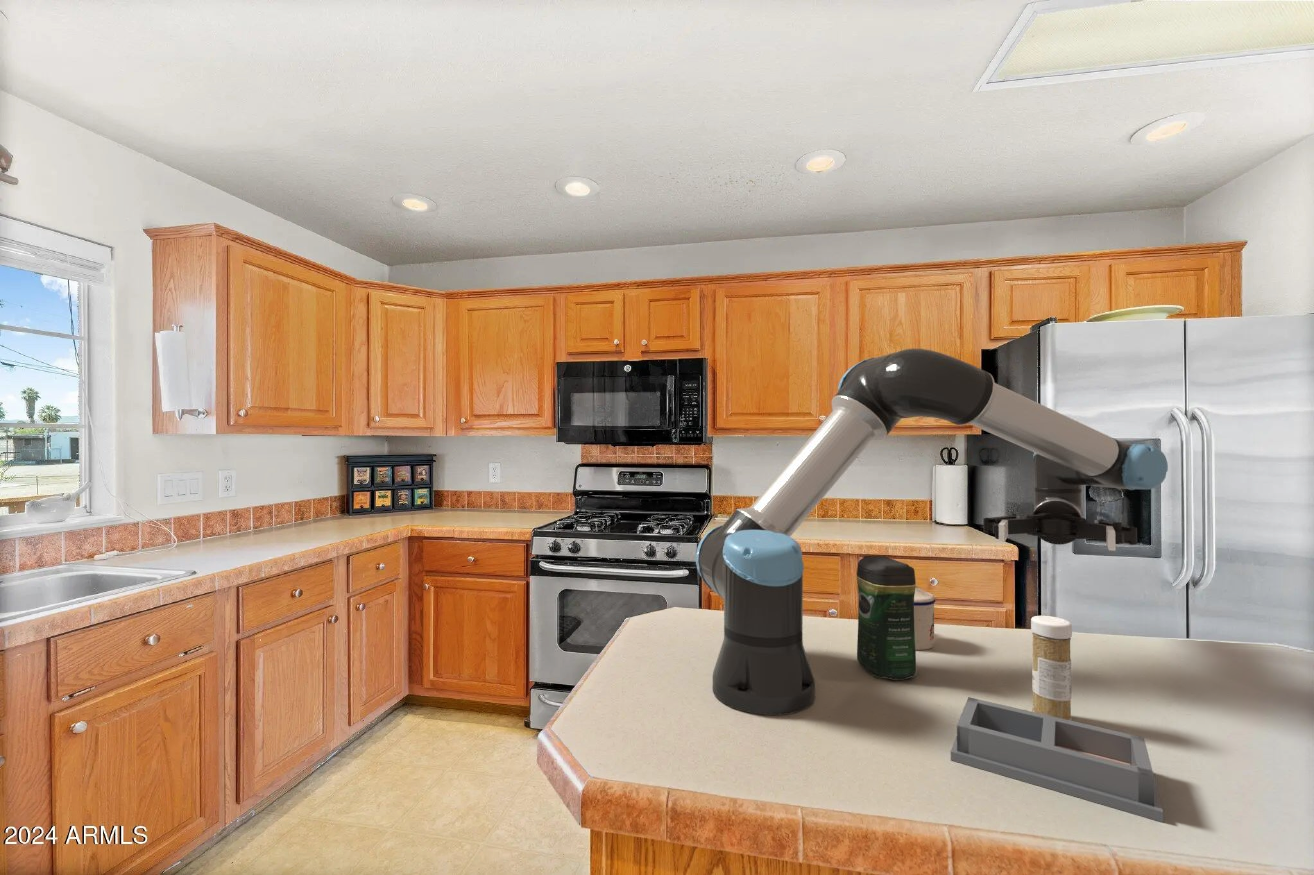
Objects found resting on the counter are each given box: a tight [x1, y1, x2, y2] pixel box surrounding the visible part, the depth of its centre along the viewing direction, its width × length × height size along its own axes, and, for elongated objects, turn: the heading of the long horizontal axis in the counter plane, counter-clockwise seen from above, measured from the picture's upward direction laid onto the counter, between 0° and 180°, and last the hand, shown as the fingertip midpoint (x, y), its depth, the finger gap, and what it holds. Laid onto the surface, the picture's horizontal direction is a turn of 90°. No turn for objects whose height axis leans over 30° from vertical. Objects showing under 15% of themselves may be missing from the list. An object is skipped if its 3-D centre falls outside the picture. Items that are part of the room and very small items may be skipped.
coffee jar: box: [856, 555, 917, 681], centre depth 94 cm, size 10×8×19 cm
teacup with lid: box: [914, 585, 936, 651], centre depth 109 cm, size 12×9×12 cm
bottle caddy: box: [950, 696, 1164, 823], centre depth 66 cm, size 19×11×4 cm, turn 54°
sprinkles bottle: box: [1030, 615, 1073, 721], centre depth 77 cm, size 5×5×13 cm
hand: (1054, 536), depth 85 cm, fingers open, 13 cm apart
